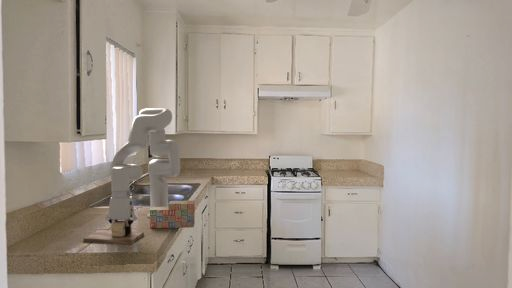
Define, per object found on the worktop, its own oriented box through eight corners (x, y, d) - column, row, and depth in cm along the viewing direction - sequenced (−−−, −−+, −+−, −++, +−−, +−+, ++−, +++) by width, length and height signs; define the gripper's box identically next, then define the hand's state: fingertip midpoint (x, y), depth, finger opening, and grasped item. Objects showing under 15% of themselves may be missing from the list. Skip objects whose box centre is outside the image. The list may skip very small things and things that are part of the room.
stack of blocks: (149, 228, 170) (149, 203, 169) (152, 224, 176) (152, 201, 175) (193, 227, 172) (193, 203, 171) (194, 223, 178) (194, 200, 177)
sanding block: (121, 231, 160) (120, 218, 160) (131, 231, 159) (131, 219, 159) (111, 237, 152) (111, 223, 152) (122, 237, 151) (122, 223, 151)
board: (99, 233, 163) (99, 229, 162) (143, 235, 159) (143, 232, 159) (83, 241, 151) (83, 238, 151) (130, 244, 148) (130, 240, 147)
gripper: (142, 193, 157) (143, 232, 158) (107, 191, 159) (108, 230, 160) (134, 196, 150) (135, 237, 151) (98, 195, 152) (99, 236, 153)
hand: (121, 233), depth 156 cm, fingers closed on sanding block, 5 cm apart
